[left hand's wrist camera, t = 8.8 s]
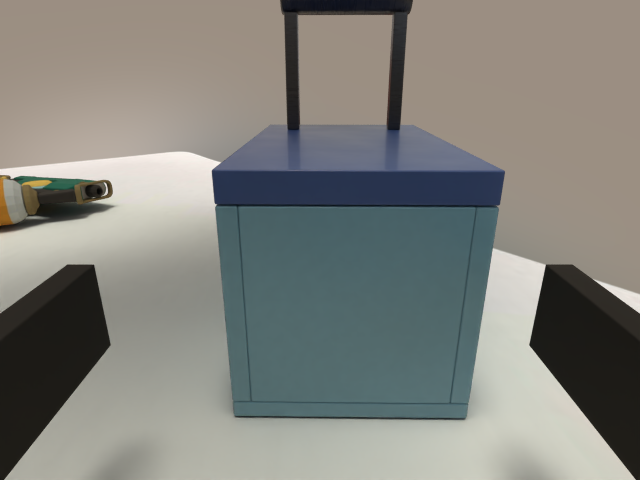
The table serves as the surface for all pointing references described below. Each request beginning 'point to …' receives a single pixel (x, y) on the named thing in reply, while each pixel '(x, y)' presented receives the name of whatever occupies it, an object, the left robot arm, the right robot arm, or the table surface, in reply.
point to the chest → (353, 307)
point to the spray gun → (44, 194)
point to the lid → (352, 144)
